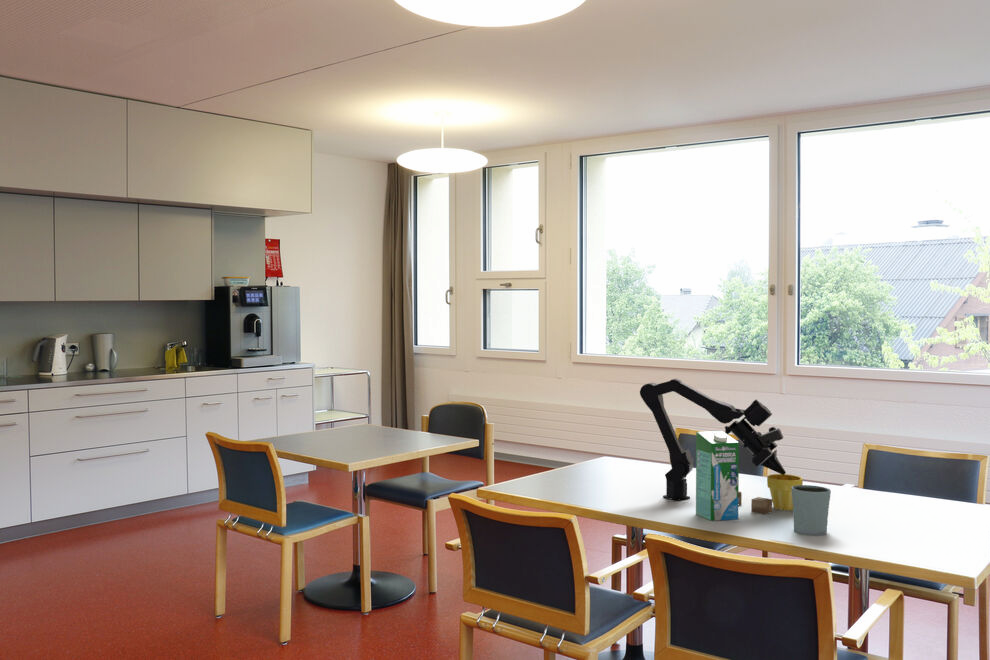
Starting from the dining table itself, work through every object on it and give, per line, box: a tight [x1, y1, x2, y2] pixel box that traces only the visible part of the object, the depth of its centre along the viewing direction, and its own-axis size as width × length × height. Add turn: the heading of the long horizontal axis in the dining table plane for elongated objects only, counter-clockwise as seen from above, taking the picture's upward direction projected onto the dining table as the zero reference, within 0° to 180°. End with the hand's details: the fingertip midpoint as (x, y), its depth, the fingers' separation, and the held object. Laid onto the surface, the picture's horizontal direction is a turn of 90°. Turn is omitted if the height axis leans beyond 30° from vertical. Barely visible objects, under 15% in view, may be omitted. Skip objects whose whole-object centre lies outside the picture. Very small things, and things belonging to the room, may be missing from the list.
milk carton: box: [695, 430, 740, 522], centre depth 242 cm, size 9×9×25 cm
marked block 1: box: [738, 491, 743, 505], centre depth 260 cm, size 4×4×4 cm
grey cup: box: [791, 484, 832, 536], centre depth 225 cm, size 10×10×12 cm
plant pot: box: [766, 473, 804, 511], centre depth 253 cm, size 10×10×10 cm
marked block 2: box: [750, 496, 773, 515], centre depth 248 cm, size 4×4×4 cm
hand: (784, 473), depth 253 cm, fingers closed
